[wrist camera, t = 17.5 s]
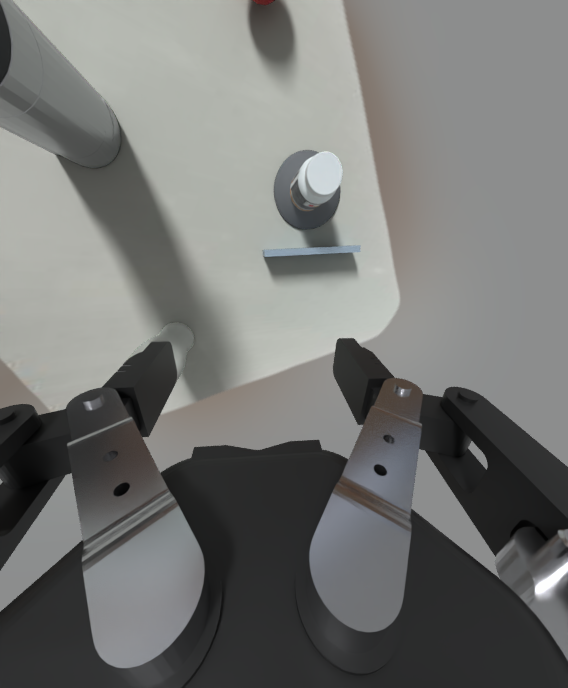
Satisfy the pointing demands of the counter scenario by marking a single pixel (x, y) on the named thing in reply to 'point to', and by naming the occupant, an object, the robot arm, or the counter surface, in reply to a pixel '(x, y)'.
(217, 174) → the counter surface
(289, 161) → the mat
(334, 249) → the divider wall
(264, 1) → the onion
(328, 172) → the pill bottle
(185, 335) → the beer glass
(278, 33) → the counter surface
